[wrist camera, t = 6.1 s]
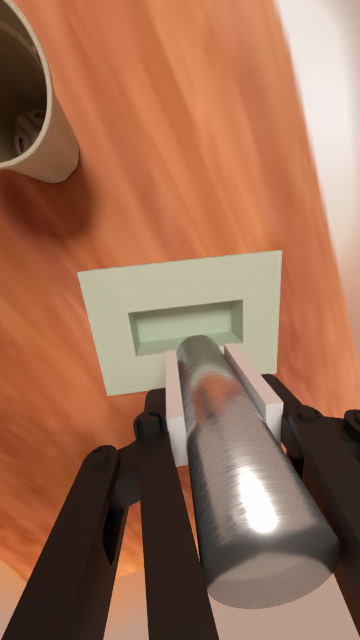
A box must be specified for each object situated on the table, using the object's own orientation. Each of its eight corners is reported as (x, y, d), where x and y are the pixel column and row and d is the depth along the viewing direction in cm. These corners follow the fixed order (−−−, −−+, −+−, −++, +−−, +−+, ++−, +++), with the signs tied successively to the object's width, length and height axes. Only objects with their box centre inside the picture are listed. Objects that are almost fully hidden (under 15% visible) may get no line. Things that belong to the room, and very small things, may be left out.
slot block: (94, 269, 24) (77, 272, 19) (259, 251, 25) (282, 250, 20) (116, 372, 28) (107, 396, 24) (257, 354, 29) (276, 373, 24)
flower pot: (32, 215, 22) (-47, 191, 14) (-27, 112, 19) (-168, 4, 11) (111, 181, 22) (80, 134, 14) (64, 70, 19) (-12, -74, 11)
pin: (173, 337, 16) (196, 533, 5) (218, 332, 16) (350, 508, 5) (178, 377, 17) (206, 618, 6) (220, 372, 17) (332, 595, 6)
